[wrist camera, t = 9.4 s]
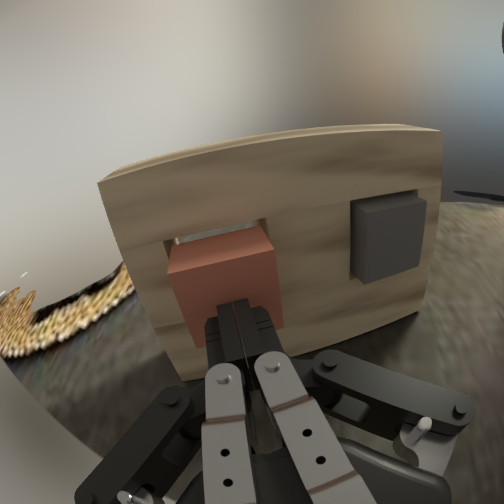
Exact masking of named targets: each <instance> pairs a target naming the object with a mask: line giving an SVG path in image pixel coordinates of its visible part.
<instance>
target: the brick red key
mask: <svg viewBox="0 0 504 504" xmlns="http://www.w3.org/2000/svg"><path fill="white" fill-rule="evenodd" d="M167 275H168V278H169V280H170V283H171V286H172V289H173V291H174V294H175V297H176V299H177V302H178V304H179V307H180V310H181V312H182V315H183V317H184V320H185V322H186V325H187V327H188V329H189V332H190V334H191V337H192V339H193V341H194V344H195V346H196V348H202V347H206V340H205V330H204V326H205V324H206V321H207V319H208V318H211V317H215V316H218V314H217V308H216V305H219V304H223V303H228V302H231V303H232V306H233V301H236V300H240V299H244V298H248V301H249V304H250V307H251V308H253V307H257V306H262V307H264V308H265V309H266V310H267V311H268V312H269V315H270V317H271V320H272V322H273V325H274V328H275V330H279V329H283V328H284V322H283V313H282V305H281V296H280V288H279V280H278V272H277V264H276V257H275V249H274V248H273V246H272V244H271V243H270V241H269V239H268V238H267V236H266V234H265V233H264V231H263V229H262V228H261V226H256V227H251V228H247V229H242V230H238V231H233V232H229V233H225V234H220V235H216V236H211V237H207V238H203V239H199V240H194V241H190V242H186V243H182V244H177V245H173V246H171V252H170V258H169V265H168V272H167ZM233 310H234V306H233ZM234 314H235V310H234ZM235 318H236V314H235ZM236 322H237V318H236ZM237 325H238V322H237ZM238 329H239V327H238ZM239 333H240V331H239ZM240 337H241V335H240Z"/></svg>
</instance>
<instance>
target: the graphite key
mask: <svg viewBox="0 0 504 504" xmlns="http://www.w3.org/2000/svg"><path fill="white" fill-rule="evenodd" d="M426 207H427V201H426V200H424V199H422V198H420V197H418V196H415V195H413V194H411V193H409V192H407V191H402V192H396V193H390V194H384V195H378V196H373V197H367V198H362V199H356V200H351V201H350V270H351V271H352V273H353V274H354V275H355V276H356V277H357V278H358V279H359V280H360V281H361V282H362V283H363V285H365V284H368V283H371V282H374V281H377V280H381V279H383V278H386V277H389V276H392V275H395V274H398V273H401V272H404V271H407V270H409V269H412V268H415V267H418V266H419V262H420V256H421V250H422V243H423V235H424V227H425V218H426Z"/></svg>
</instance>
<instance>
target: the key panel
mask: <svg viewBox="0 0 504 504" xmlns="http://www.w3.org/2000/svg"><path fill="white" fill-rule="evenodd" d="M441 174H442V131H438V130H433V129H428V128H422V127H416V126H409V125H401V124H372V125H371V124H370V125H347V126H331V127H320V128H309V129H299V130H290V131H283V132H275V133H268V134H261V135H255V136H248V137H243V138H237V139H232V140H226V141H221V142H216V143H211V144H206V145H202V146H198V147H193V148H189V149H184V150H180V151H176V152H172V153H168V154H165V155H161V156H157V157H153V158H150V159H146V160H143V161H139V162H136V163H133V164H130V165H126V166H123V167H120V168H119V169H117V170H116V171H114V172H113V173H111V174H110V175H108V176H107V177H105V178H104V179H102V180H101V181H99V182H98V183H97V184H98V187H99V191H100V194H101V197H102V201H103V204H104V207H105V210H106V213H107V216H108V219H109V222H110V225H111V228H112V231H113V234H114V236H115V239H116V242H117V245H118V247H119V250H120V253H121V255H122V258H123V260H124V263H125V265H126V268H127V270H128V273H129V275H130V277H131V280H132V282H133V285H134V287H135V289H136V291H137V294H138V296H139V298H140V300H141V303H142V305H143V307H144V309H145V311H146V313H147V315H148V318H149V320H150V322H151V324H152V326H153V328H154V330H155V332H156V334H157V336H158V338H159V340H160V342H161V344H162V345H163V347H164V349H165V351H166V353H167V355H168V357H169V359H170V360H171V362H172V364H173V366H174V368H175V369H176V371H177V373H178V375H179V376H180V378H181V380H182V382H183V381H189V380H195V379H200V378H205V376H206V374H207V372H208V359H207V350H206V347H202V348H196V346H195V344H194V341H193V339H192V337H191V334H190V332H189V329H188V327H187V325H186V322H185V320H184V317H183V315H182V312H181V310H180V307H179V304H178V302H177V299H176V297H175V294H174V291H173V289H172V286H171V283H170V280H169V278H168V275H167V272H168V265H169V258H170V252H171V246H173V245H177V244H179V243H178V239H177V238H178V237H182V236H186V235H190V234H194V233H198V232H203V231H207V230H211V229H216V228H220V227H225V226H229V225H233V224H238V223H242V222H247V221H252V220H254V224H255V227H256V226H261V228H262V229H263V231H264V233H265V234H266V236H267V238H268V239H269V241H270V243H271V244H272V246H273V248H274V249H275V257H276V264H277V272H278V280H279V288H280V296H281V305H282V313H283V322H284V328H283V329H279V330H276V333H277V335H278V338H279V340H280V343H281V345H282V348H283V350H284V352H285V353H286V354H287V355H288V356H290V357H294V356H297V355H301V354H304V353H307V352H310V351H314V350H317V349H320V348H323V347H326V346H329V345H332V344H335V343H338V342H341V341H344V340H347V339H349V338H352V337H355V336H358V335H360V334H363V333H366V332H368V331H371V330H373V329H376V328H379V327H381V326H384V325H386V324H388V323H391V322H393V321H396V320H398V319H400V318H403V317H405V316H407V315H410V314H412V313H414V312H416V311H418V310H420V309H421V306H422V302H423V298H424V294H425V290H426V285H427V281H428V276H429V272H430V267H431V261H432V256H433V250H434V244H435V238H436V231H437V223H438V215H439V205H440V193H441V177H442V175H441ZM402 191H407V192H409V193H411V194H413V195H415V196H418V197H420V198H422V199H424V200H426V201H427V207H426V218H425V227H424V235H423V243H422V250H421V256H420V262H419V266H418V267H415V268H412V269H409V270H407V271H404V272H401V273H398V274H395V275H392V276H389V277H386V278H383V279H381V280H377V281H374V282H371V283H368V284H365V285H363V283H362V282H361V281H360V280H359V279H358V278H357V277H356V276H355V275H354V274H353V273H352V271H351V270H350V201H351V200H356V199H362V198H367V197H373V196H378V195H384V194H390V193H396V192H402ZM241 341H242V339H241ZM242 345H243V343H242ZM243 350H244V347H243ZM244 354H245V351H244ZM245 358H246V355H245ZM246 362H247V359H246ZM247 366H248V362H247ZM248 368H249V366H248Z"/></svg>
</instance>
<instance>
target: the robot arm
mask: <svg viewBox="0 0 504 504" xmlns="http://www.w3.org/2000/svg"><path fill="white" fill-rule="evenodd" d="M502 47H503V53H504V23H503V29H502ZM233 306H234V310H235V314H236V318H237V322H238V325H237V322H236V318H235V314H234V310H233ZM233 306H232V303H231V302H228V303H223V304H219V305H216V308H217V314H218V316H215V317H211V318H208V319H207V321H206V324H205V326H204V330H205V340H206V350H207V359H208V372H207V374H206V376H205V379H204V380H203V381H202V382H201V383H199V384H198V385H196V386H194V387H192V388H190V389H188V390H185V389H184V388H182V387H178V386H172V387H168V388H166V389H164V390H163V391H161V392H160V393H159V395H158V396H157V397H156V398H155V399H154V401H153V402H152V403H151V404H150V405H149V407H148V408H147V409H146V410H145V411H144V412H143V414H142V415H141V416H140V417H139V418H138V419H137V421H136V422H135V423H134V424H133V425H132V427H131V428H130V429H129V430H128V431H127V432H126V434H125V435H124V436H123V437H122V438H121V439H120V440H119V442H118V443H117V444H116V445H115V446H114V447H113V449H112V450H111V451H110V452H109V453H108V454H107V455H106V457H105V458H104V459H103V460H102V461H101V462H100V463H99V465H98V466H97V467H96V468H95V469H94V470H93V471H92V473H91V474H90V475H89V476H88V477H87V478H86V479H85V481H84V482H83V483H82V484H81V485H80V486H79V487H78V488H77V490H76V492H75V496H74V498H75V503H76V504H165V503H164V501H163V500H162V498H163V497H164V495H165V494H166V493H167V492H168V490H169V489H170V488H171V486H172V485H173V484H174V482H175V481H176V480H177V478H178V477H179V476H180V475H181V473H182V472H183V470H184V469H185V468H186V466H187V465H188V464H189V462H190V461H191V460H192V458H193V457H194V455H195V454H196V453H197V451H198V450H199V448H200V447H201V446H202V459H203V471H201V472H200V473H199V474H197V475H196V476H195V477H194V478H193V480H192V481H191V482H190V484H189V485H188V486H187V488H186V489H185V491H184V492H183V494H182V495H181V497H180V498H179V500H178V501H177V502H176V504H451V498H452V497H451V490H450V487H449V485H448V483H447V481H446V480H445V479H444V478H443V477H442V476H443V473H444V471H445V469H446V466H447V464H448V462H449V459H450V456H451V454H452V451H453V449H454V446H455V443H456V440H457V437H458V434H459V433H460V432H461V431H462V430H463V429H464V428H465V427H466V426H467V425H468V424H469V423H470V421H471V420H472V419H473V418H474V416H475V413H476V405H475V402H474V400H473V399H472V398H471V397H470V396H469V395H467V394H465V393H461V392H458V391H454V390H451V389H448V388H444V387H441V386H438V385H434V384H431V383H428V382H425V381H422V380H419V379H416V378H413V377H410V376H407V375H404V374H401V373H398V372H395V371H392V370H389V369H386V368H383V367H381V366H378V365H375V364H372V363H370V362H367V361H364V360H361V359H359V358H356V357H353V356H351V355H348V354H346V353H343V352H340V351H338V350H324V351H322V352H320V353H318V354H317V355H316V356H315V357H314V359H307V360H299V359H294V358H292V357H290V356H288V355H287V354H286V353H285V352H284V350H283V348H282V345H281V343H280V340H279V338H278V335H277V333H276V330H275V328H274V325H273V322H272V320H271V317H270V315H269V312H268V311H267V310H266V309H265V308H264V307H262V306H257V307H253V308H251V307H250V304H249V301H248V298H244V299H240V300H236V301H233ZM238 327H239V329H238ZM239 331H240V333H239ZM240 335H241V337H240ZM241 339H242V341H241ZM242 343H243V345H242ZM243 347H244V350H243ZM244 351H245V354H244ZM245 355H246V358H245ZM246 359H247V362H248V366H249V370H250V373H251V377H252V380H253V384H254V387H255V390H258V389H260V392H261V395H262V399H263V402H264V406H265V408H266V411H267V413H268V416H269V418H270V421H271V423H272V426H273V428H274V431H275V433H276V436H277V438H278V441H279V444H280V447H281V449H279V450H277V451H275V452H273V453H270V454H260V450H259V446H258V442H257V436H256V430H255V424H254V417H253V411H252V406H251V404H252V402H251V397H250V393H249V392H250V391H254V389H253V385H252V381H251V377H250V374H249V370H248V366H247V362H246ZM322 412H324V413H326V414H329V415H331V416H333V417H335V418H337V419H340V420H342V421H344V422H346V423H349V424H351V425H353V426H356V427H358V428H360V429H363V430H365V431H368V432H370V433H373V434H375V435H378V436H380V437H383V438H386V439H388V440H391V441H393V449H394V451H395V453H396V454H397V455H398V456H400V457H402V458H403V459H405V460H406V461H407V463H405V462H403V461H400V460H397V459H395V458H392V457H390V456H387V455H385V454H383V453H380V452H378V451H375V450H373V449H371V448H369V447H366V446H364V445H362V444H360V443H358V442H355V441H353V440H350V439H346V438H340V437H336V436H335V434H334V432H333V431H332V429H331V427H330V425H329V423H328V422H327V420H326V418H325V416H324V414H323V413H322Z"/></svg>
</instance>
